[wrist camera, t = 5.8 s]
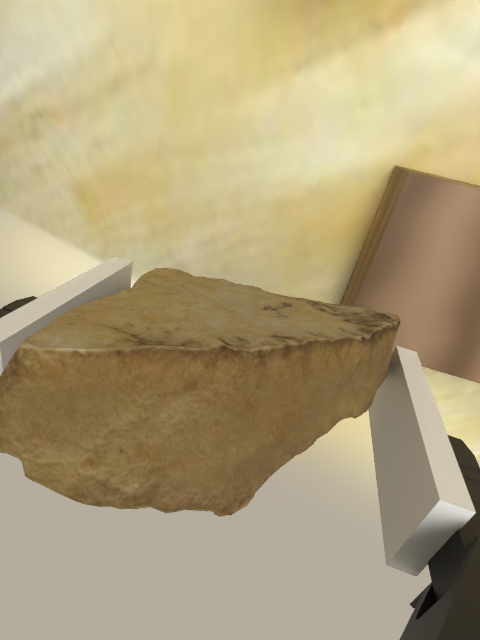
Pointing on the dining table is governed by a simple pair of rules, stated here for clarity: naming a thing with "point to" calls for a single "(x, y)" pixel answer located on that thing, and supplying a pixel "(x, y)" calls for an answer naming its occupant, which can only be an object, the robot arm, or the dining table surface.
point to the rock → (186, 391)
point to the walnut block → (426, 269)
